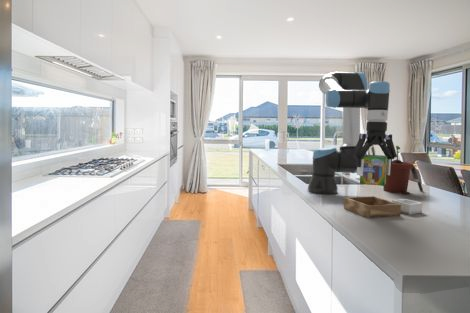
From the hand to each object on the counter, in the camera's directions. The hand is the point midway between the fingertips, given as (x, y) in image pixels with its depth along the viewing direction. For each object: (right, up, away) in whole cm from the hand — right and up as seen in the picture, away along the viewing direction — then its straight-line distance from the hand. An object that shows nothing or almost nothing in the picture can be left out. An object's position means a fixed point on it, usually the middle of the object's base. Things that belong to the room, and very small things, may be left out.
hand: (373, 175), depth 128 cm
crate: (0, -15, +1) cm, 15 cm away
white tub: (+15, -15, +4) cm, 22 cm away
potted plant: (+36, -12, +47) cm, 60 cm away
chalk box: (0, -4, 0) cm, 4 cm away
